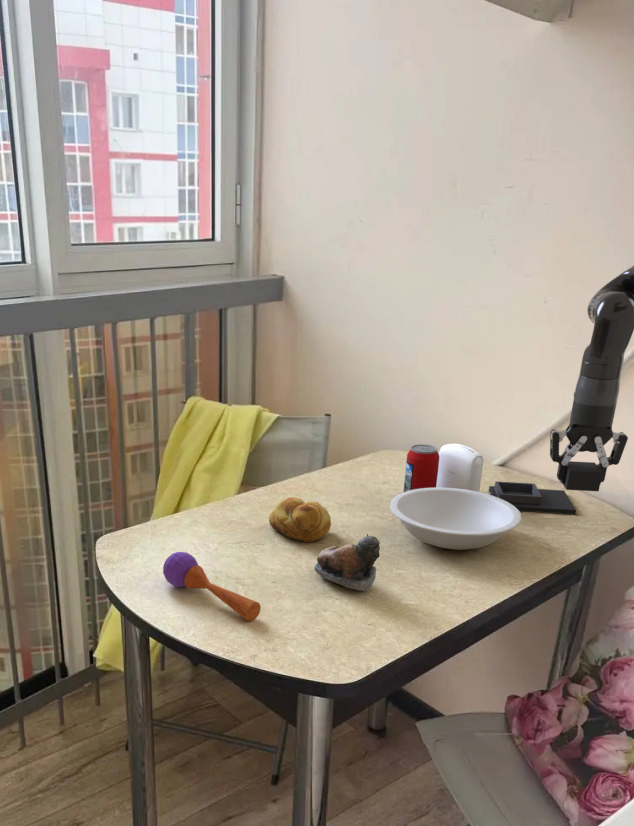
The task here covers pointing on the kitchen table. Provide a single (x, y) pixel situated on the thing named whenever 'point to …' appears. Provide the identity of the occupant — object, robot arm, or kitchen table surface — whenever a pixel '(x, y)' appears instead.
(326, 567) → the bison figurine
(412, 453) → the beverage can
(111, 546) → the kitchen table surface
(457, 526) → the soup bowl
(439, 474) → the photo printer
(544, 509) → the base pad
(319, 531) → the bread roll
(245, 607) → the purple toy maraca
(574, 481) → the black block
